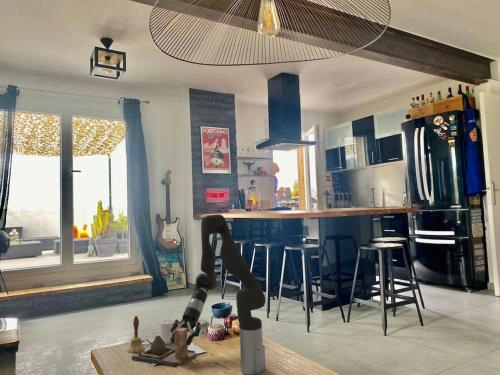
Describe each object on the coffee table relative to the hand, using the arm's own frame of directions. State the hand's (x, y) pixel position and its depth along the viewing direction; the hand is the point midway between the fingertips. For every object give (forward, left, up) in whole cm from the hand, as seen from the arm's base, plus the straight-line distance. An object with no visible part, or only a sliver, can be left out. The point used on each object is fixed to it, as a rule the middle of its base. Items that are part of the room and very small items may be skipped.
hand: (179, 343), depth 169 cm
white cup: (+21, -19, -8) cm, 29 cm away
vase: (+13, -1, -8) cm, 15 cm away
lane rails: (+10, -1, -7) cm, 12 cm away
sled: (+7, -1, -7) cm, 10 cm away
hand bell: (+29, -4, -8) cm, 30 cm away
